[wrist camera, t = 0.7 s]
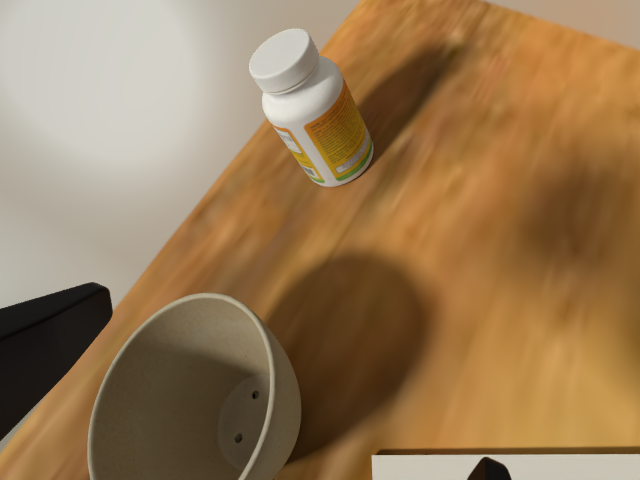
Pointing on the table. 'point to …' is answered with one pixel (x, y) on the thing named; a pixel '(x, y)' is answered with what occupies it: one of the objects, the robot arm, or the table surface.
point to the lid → (509, 466)
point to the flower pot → (196, 398)
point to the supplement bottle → (311, 108)
